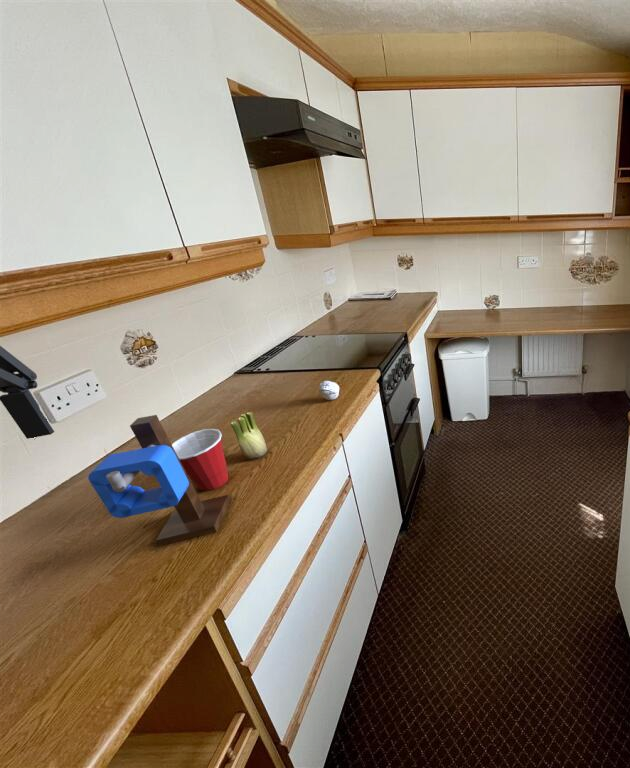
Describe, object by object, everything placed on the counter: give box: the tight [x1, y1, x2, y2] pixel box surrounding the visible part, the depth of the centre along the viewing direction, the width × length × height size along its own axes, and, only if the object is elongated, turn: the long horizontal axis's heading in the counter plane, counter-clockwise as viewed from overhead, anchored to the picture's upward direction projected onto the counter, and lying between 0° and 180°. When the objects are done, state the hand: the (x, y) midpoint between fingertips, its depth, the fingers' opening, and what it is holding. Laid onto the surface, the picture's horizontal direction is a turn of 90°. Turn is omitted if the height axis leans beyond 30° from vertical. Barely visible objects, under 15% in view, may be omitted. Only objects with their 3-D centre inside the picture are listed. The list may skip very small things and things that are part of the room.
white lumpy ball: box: [318, 380, 340, 401], centre depth 132 cm, size 6×7×7 cm
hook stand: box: [106, 414, 231, 547], centre depth 76 cm, size 19×10×25 cm, turn 18°
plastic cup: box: [171, 428, 229, 492], centre depth 94 cm, size 11×11×12 cm
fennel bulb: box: [230, 411, 268, 460], centre depth 104 cm, size 6×5×12 cm
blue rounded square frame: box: [87, 445, 189, 519], centre depth 71 cm, size 5×10×10 cm, turn 108°
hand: (3, 462), depth 51 cm, fingers open, 13 cm apart
